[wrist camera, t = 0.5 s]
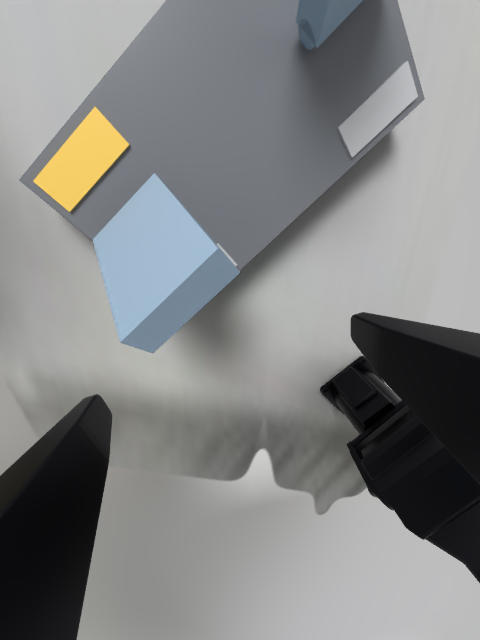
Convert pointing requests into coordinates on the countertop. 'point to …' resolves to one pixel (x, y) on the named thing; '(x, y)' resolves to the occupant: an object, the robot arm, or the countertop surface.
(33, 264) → the countertop surface
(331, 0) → the upright blue panel
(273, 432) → the countertop surface
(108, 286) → the panel
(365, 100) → the switch panel
